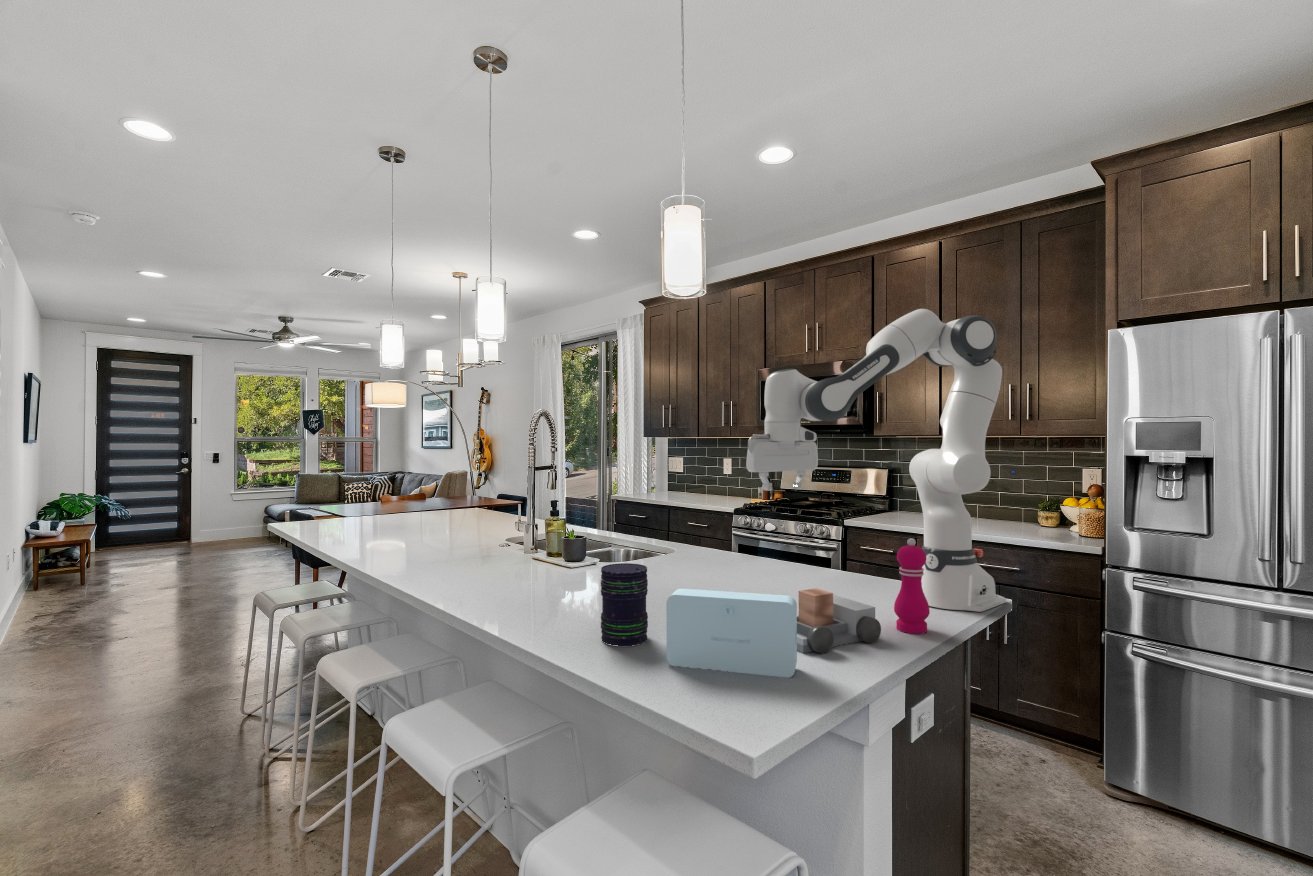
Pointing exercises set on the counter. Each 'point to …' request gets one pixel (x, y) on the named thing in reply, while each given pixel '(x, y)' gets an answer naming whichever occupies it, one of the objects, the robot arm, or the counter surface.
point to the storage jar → (624, 604)
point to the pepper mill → (911, 590)
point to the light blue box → (732, 632)
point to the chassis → (840, 627)
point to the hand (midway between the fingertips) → (782, 489)
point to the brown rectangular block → (815, 607)
